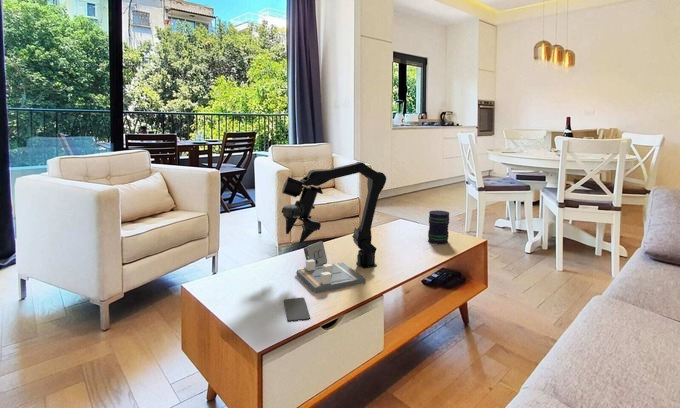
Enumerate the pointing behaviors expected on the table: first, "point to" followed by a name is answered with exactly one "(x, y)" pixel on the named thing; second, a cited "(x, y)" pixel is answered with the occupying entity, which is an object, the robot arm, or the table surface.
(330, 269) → the handle middle
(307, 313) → the smartphone
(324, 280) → the handle
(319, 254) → the electrical switch
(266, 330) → the table surface
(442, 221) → the storage jar
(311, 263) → the handle
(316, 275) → the breaker panel
